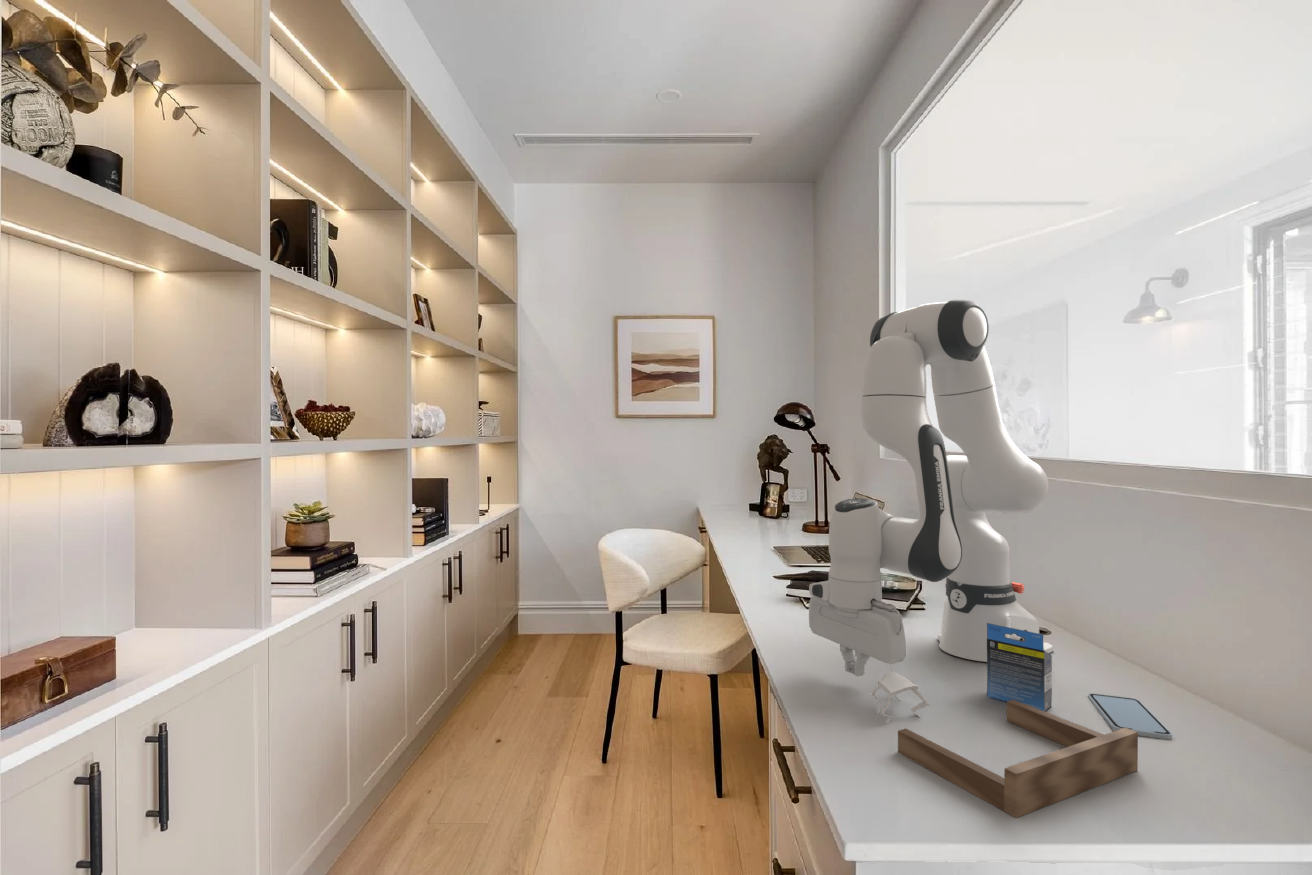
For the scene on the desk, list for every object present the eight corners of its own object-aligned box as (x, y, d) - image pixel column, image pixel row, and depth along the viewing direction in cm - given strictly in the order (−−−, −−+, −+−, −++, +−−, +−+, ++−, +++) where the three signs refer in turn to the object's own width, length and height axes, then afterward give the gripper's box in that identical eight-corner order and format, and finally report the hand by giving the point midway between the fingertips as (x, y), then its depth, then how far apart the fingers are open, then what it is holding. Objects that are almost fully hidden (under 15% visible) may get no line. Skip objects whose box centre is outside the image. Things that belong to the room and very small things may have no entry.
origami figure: (936, 729, 100) (936, 695, 100) (877, 725, 101) (878, 693, 101) (915, 697, 112) (915, 667, 112) (863, 694, 113) (863, 665, 113)
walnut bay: (1013, 719, 103) (1013, 686, 103) (1137, 770, 87) (1137, 732, 87) (897, 752, 92) (897, 715, 92) (1016, 817, 77) (1016, 774, 77)
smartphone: (1138, 698, 110) (1174, 735, 96) (1138, 704, 110) (1174, 742, 96) (1086, 692, 113) (1114, 727, 99) (1086, 698, 113) (1114, 734, 98)
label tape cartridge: (1053, 706, 108) (1053, 629, 108) (1044, 713, 105) (1044, 634, 105) (995, 690, 114) (995, 618, 114) (985, 696, 112) (985, 622, 112)
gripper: (915, 605, 109) (915, 690, 109) (829, 580, 127) (829, 653, 127) (886, 609, 106) (886, 697, 106) (802, 583, 124) (802, 658, 124)
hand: (854, 673), depth 117 cm, fingers closed
